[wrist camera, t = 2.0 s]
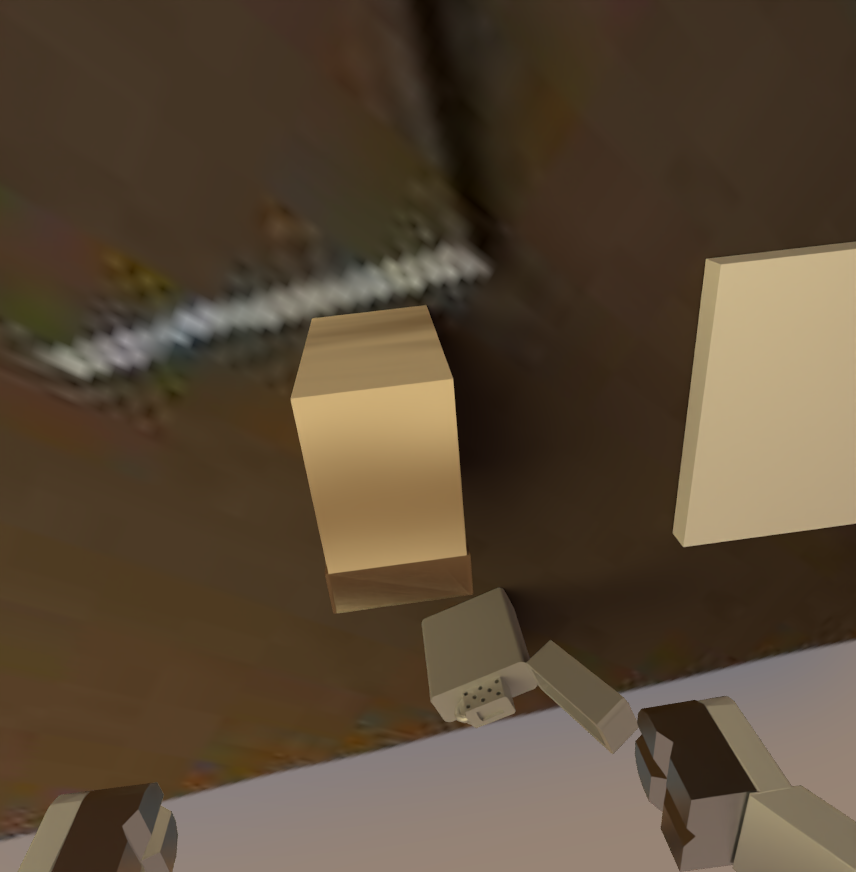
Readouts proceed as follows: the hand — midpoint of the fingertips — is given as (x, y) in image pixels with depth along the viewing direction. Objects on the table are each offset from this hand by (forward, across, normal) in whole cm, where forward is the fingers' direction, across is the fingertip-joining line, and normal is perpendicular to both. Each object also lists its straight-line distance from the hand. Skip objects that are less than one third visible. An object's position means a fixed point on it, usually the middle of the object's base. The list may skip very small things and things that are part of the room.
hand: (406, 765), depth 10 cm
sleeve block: (+14, 0, -1) cm, 14 cm away
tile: (+14, -18, +1) cm, 23 cm away
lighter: (+15, -4, +10) cm, 18 cm away
